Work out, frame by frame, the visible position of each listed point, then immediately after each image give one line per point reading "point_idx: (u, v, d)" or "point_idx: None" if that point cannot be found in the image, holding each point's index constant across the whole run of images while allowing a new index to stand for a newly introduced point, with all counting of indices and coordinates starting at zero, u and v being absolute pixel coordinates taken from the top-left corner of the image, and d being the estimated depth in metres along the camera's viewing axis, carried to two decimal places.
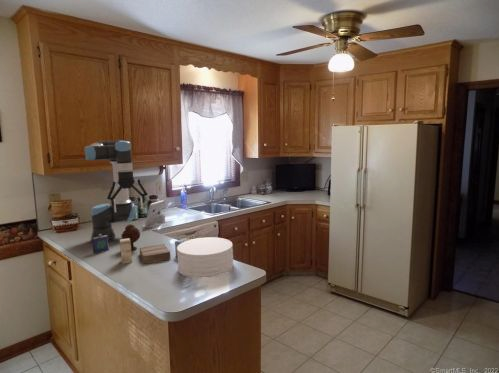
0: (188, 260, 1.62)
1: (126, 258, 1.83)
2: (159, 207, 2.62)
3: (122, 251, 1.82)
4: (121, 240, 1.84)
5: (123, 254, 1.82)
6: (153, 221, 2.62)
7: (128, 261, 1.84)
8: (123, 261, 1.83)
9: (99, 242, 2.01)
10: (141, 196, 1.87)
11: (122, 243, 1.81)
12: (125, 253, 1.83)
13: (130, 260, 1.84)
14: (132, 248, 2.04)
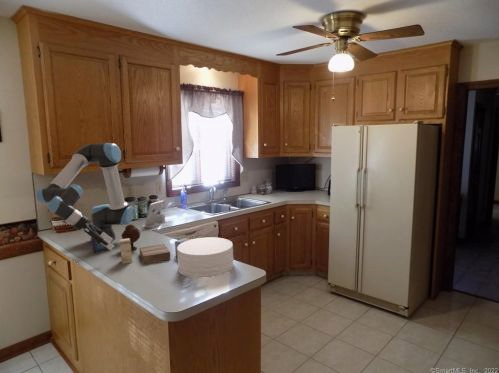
0: (188, 260, 1.62)
1: (126, 258, 1.83)
2: (159, 207, 2.62)
3: (122, 251, 1.82)
4: (121, 240, 1.84)
5: (123, 254, 1.82)
6: (153, 221, 2.62)
7: (128, 261, 1.84)
8: (123, 261, 1.83)
9: None
10: (103, 238, 1.72)
11: (122, 243, 1.81)
12: (125, 253, 1.83)
13: (130, 260, 1.84)
14: (132, 248, 2.04)
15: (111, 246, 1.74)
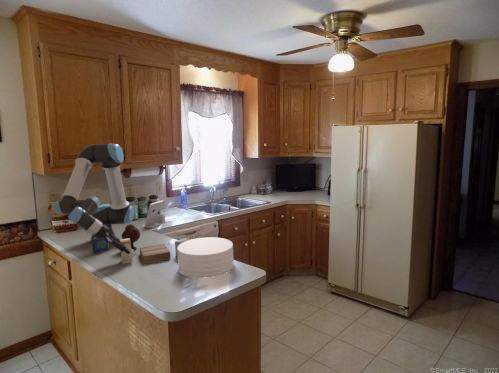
0: (188, 260, 1.62)
1: (126, 258, 1.83)
2: (159, 207, 2.62)
3: None
4: (121, 240, 1.84)
5: (123, 254, 1.82)
6: (153, 221, 2.62)
7: (128, 261, 1.84)
8: (123, 261, 1.83)
9: (99, 242, 2.01)
10: (126, 247, 1.82)
11: (122, 243, 1.81)
12: (125, 253, 1.83)
13: (130, 260, 1.84)
14: (132, 248, 2.04)
15: (133, 254, 1.84)
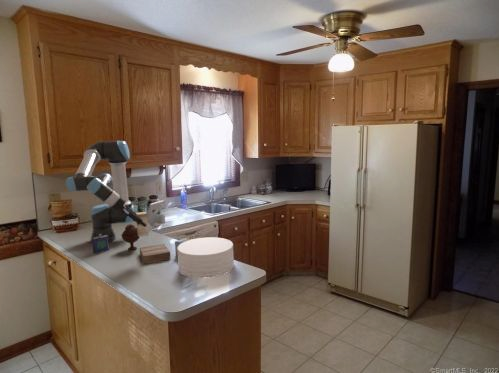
0: (189, 260, 1.62)
1: (142, 231, 1.84)
2: (159, 207, 2.62)
3: None
4: (137, 213, 1.85)
5: (139, 227, 1.83)
6: (153, 221, 2.62)
7: (144, 234, 1.85)
8: (139, 234, 1.84)
9: (99, 242, 2.01)
10: (142, 220, 1.83)
11: (138, 216, 1.82)
12: None
13: (146, 233, 1.85)
14: (132, 248, 2.04)
15: (149, 227, 1.84)
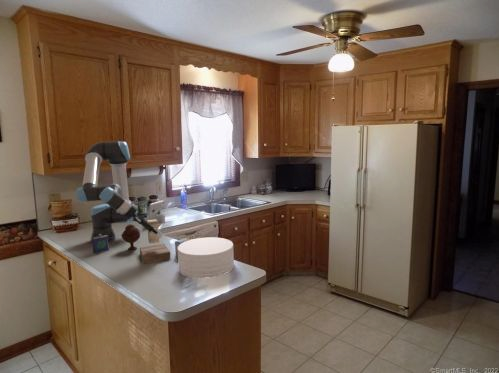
0: (189, 260, 1.62)
1: (154, 238, 1.88)
2: (159, 207, 2.62)
3: None
4: (148, 221, 1.88)
5: (151, 234, 1.87)
6: None
7: (155, 241, 1.88)
8: (151, 241, 1.87)
9: (99, 242, 2.01)
10: (153, 227, 1.86)
11: (150, 223, 1.86)
12: None
13: (157, 240, 1.89)
14: (132, 248, 2.04)
15: (160, 234, 1.88)
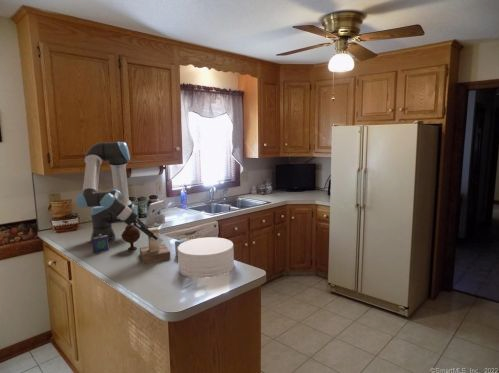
0: (189, 260, 1.62)
1: (154, 246, 1.89)
2: (159, 207, 2.62)
3: (150, 239, 1.88)
4: (149, 229, 1.89)
5: (151, 242, 1.88)
6: (153, 221, 2.62)
7: (156, 249, 1.90)
8: (151, 249, 1.88)
9: (99, 242, 2.01)
10: (153, 233, 1.85)
11: None
12: (153, 242, 1.88)
13: (158, 248, 1.90)
14: (132, 248, 2.04)
15: (160, 240, 1.87)
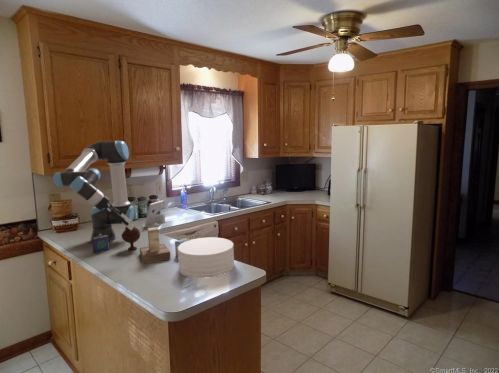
0: (189, 260, 1.62)
1: (154, 246, 1.89)
2: (159, 207, 2.62)
3: (150, 239, 1.88)
4: (149, 229, 1.89)
5: (151, 242, 1.88)
6: (153, 221, 2.62)
7: (156, 249, 1.90)
8: (151, 249, 1.88)
9: (99, 242, 2.01)
10: (124, 218, 1.76)
11: (150, 232, 1.87)
12: (153, 242, 1.88)
13: (158, 248, 1.90)
14: (132, 248, 2.04)
15: (131, 226, 1.78)
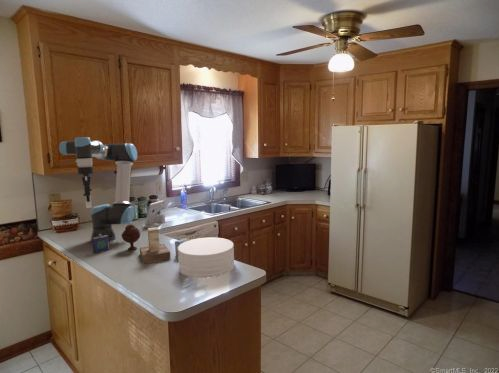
0: (189, 260, 1.62)
1: (154, 246, 1.89)
2: (159, 207, 2.62)
3: (150, 239, 1.88)
4: (149, 229, 1.89)
5: (151, 242, 1.88)
6: (153, 221, 2.62)
7: (156, 249, 1.90)
8: (151, 249, 1.88)
9: (99, 242, 2.01)
10: (90, 195, 1.79)
11: (150, 232, 1.87)
12: (153, 242, 1.88)
13: (158, 248, 1.90)
14: (132, 248, 2.04)
15: (89, 205, 1.79)
